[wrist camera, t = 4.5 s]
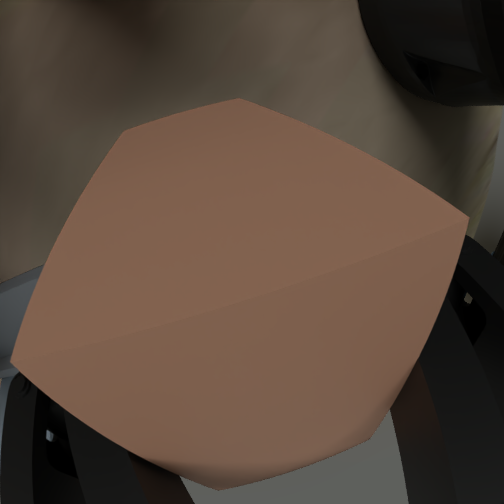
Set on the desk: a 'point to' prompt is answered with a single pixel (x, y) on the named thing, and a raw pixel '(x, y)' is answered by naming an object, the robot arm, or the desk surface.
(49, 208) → the desk surface
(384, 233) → the rust tea box
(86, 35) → the desk surface
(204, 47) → the desk surface
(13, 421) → the robot arm
